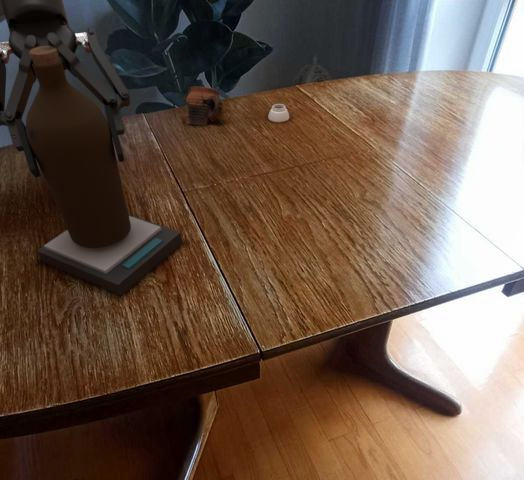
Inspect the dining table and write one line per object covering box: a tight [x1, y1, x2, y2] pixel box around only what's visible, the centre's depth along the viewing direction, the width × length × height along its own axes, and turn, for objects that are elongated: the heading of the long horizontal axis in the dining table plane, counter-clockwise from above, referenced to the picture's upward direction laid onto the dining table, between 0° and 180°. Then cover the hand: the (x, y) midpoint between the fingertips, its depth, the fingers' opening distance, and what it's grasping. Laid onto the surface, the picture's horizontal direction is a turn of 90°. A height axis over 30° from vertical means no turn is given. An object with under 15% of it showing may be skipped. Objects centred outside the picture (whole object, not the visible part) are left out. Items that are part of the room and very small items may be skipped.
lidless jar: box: [267, 103, 290, 123], centre depth 109 cm, size 5×3×5 cm
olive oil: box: [25, 46, 131, 248], centre depth 64 cm, size 11×11×25 cm
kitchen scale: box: [36, 213, 184, 297], centre depth 75 cm, size 17×15×3 cm
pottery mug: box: [182, 85, 224, 127], centre depth 109 cm, size 12×10×8 cm
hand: (79, 165), depth 62 cm, fingers closed on olive oil, 11 cm apart
